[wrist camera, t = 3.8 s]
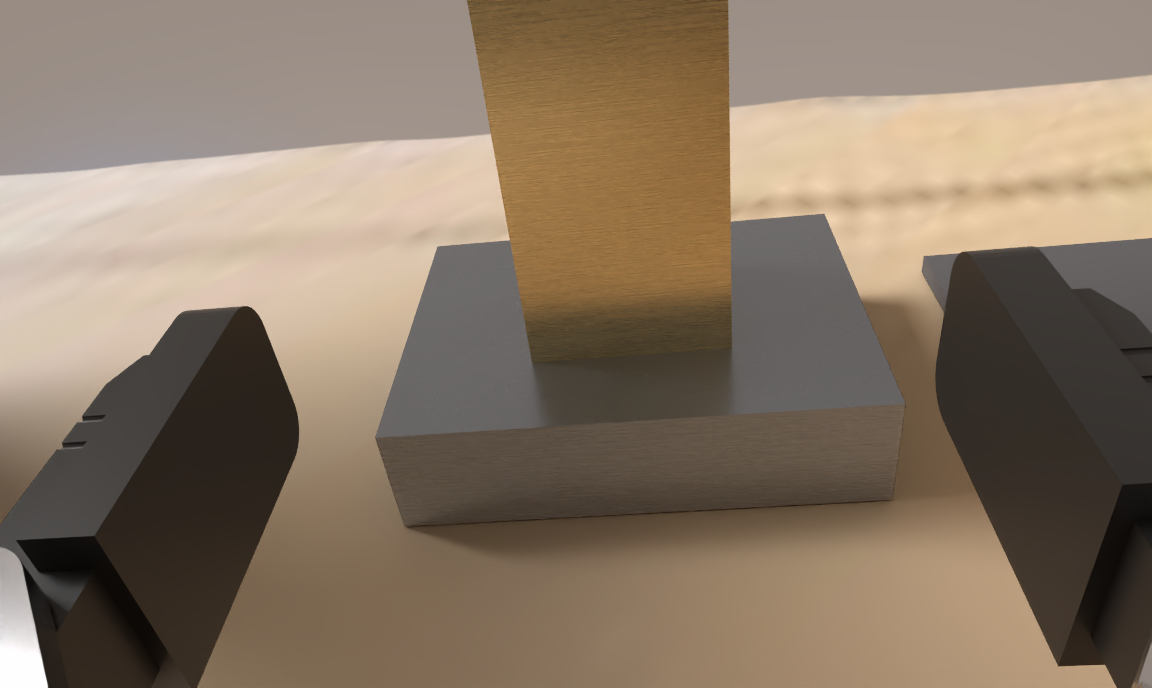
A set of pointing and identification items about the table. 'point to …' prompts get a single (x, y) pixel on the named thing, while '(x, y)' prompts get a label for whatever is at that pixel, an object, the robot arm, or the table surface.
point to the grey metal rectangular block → (644, 398)
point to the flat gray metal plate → (1081, 272)
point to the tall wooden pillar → (613, 170)
